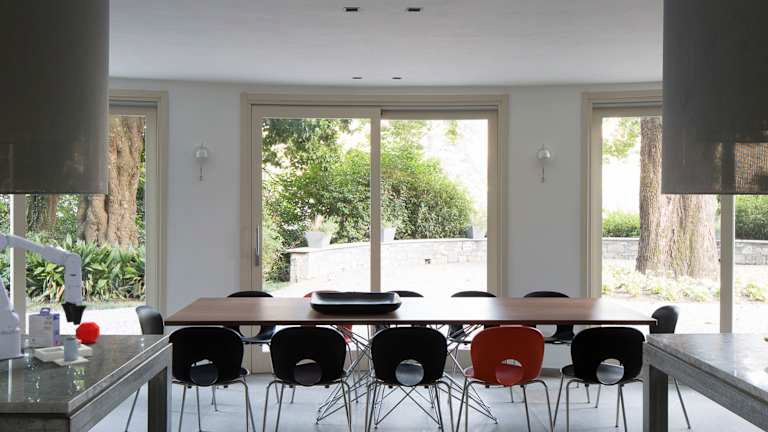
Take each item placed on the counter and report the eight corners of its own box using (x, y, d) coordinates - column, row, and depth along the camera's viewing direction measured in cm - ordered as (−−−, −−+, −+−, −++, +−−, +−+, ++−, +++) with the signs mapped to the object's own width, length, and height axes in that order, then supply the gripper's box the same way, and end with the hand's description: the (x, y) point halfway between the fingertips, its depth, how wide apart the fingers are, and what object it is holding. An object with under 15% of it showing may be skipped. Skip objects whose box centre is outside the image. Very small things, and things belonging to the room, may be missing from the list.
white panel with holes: (44, 361, 246) (44, 354, 246) (34, 356, 255) (34, 349, 255) (92, 355, 256) (92, 348, 256) (81, 350, 266) (81, 343, 266)
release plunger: (73, 353, 257) (73, 341, 256) (70, 352, 259) (70, 340, 259) (82, 352, 259) (82, 340, 259) (80, 351, 261) (79, 339, 261)
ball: (79, 340, 285) (79, 321, 285) (100, 340, 286) (100, 321, 286) (74, 344, 277) (74, 324, 277) (96, 343, 278) (96, 324, 278)
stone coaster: (60, 365, 240) (60, 364, 240) (52, 361, 247) (52, 359, 247) (88, 362, 246) (88, 360, 246) (80, 357, 253) (80, 356, 253)
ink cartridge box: (60, 344, 277) (60, 307, 277) (53, 347, 271) (53, 309, 271) (35, 344, 277) (34, 307, 277) (27, 347, 272) (27, 309, 271)
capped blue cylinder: (65, 361, 243) (65, 338, 243) (62, 359, 247) (62, 336, 247) (79, 360, 246) (79, 337, 246) (76, 358, 249) (76, 335, 249)
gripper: (91, 287, 260) (91, 324, 260) (78, 283, 271) (78, 319, 271) (70, 288, 255) (71, 326, 255) (58, 285, 266) (58, 321, 266)
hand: (73, 323), depth 263 cm, fingers open, 7 cm apart
